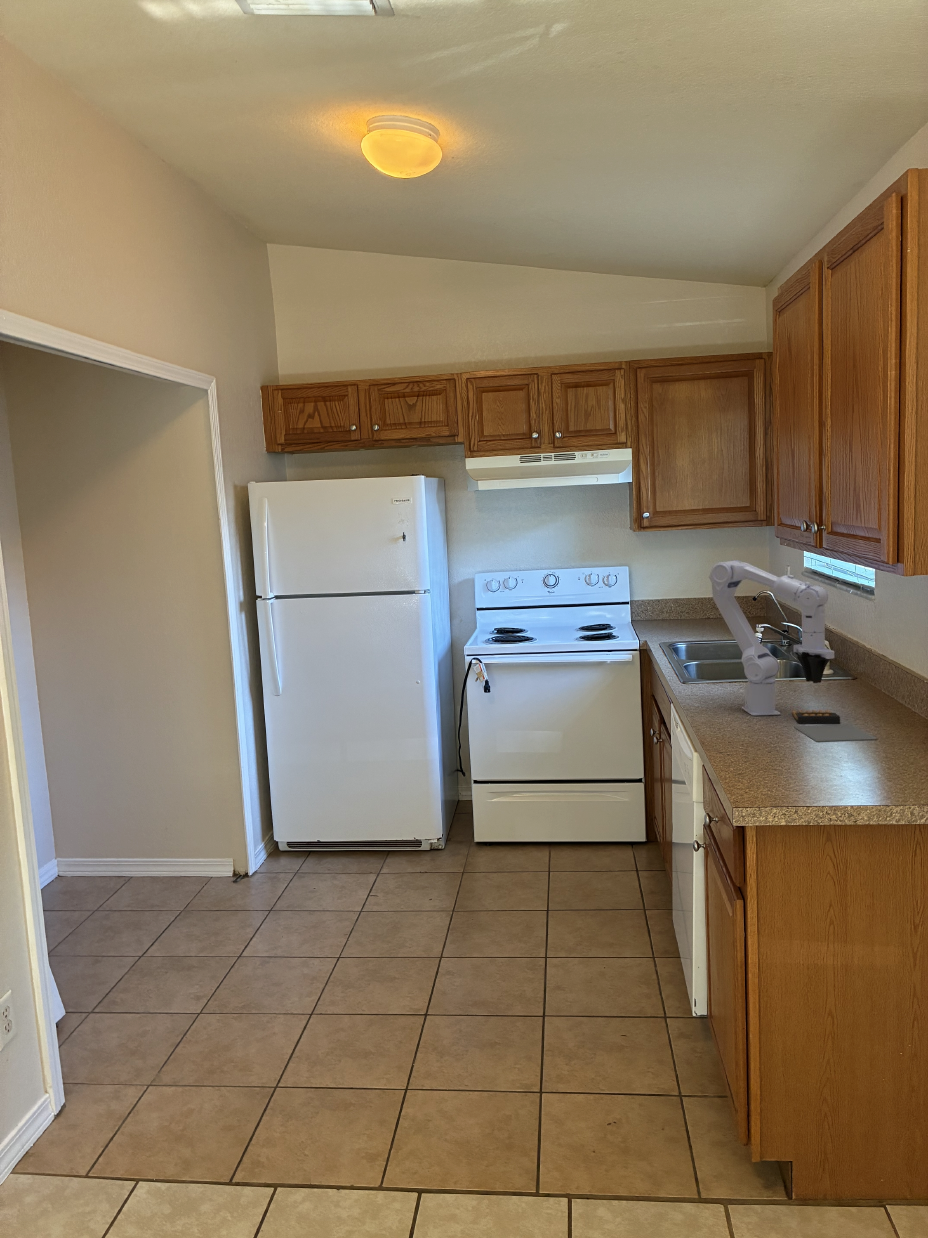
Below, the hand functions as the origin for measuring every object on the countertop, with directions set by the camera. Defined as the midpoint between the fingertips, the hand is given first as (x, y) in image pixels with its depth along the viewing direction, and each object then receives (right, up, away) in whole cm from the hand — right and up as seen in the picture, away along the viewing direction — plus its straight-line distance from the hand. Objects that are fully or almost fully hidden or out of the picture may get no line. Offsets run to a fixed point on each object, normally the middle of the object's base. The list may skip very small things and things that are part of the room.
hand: (813, 681), depth 249 cm
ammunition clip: (0, -10, -3) cm, 10 cm away
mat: (0, -12, -13) cm, 18 cm away
